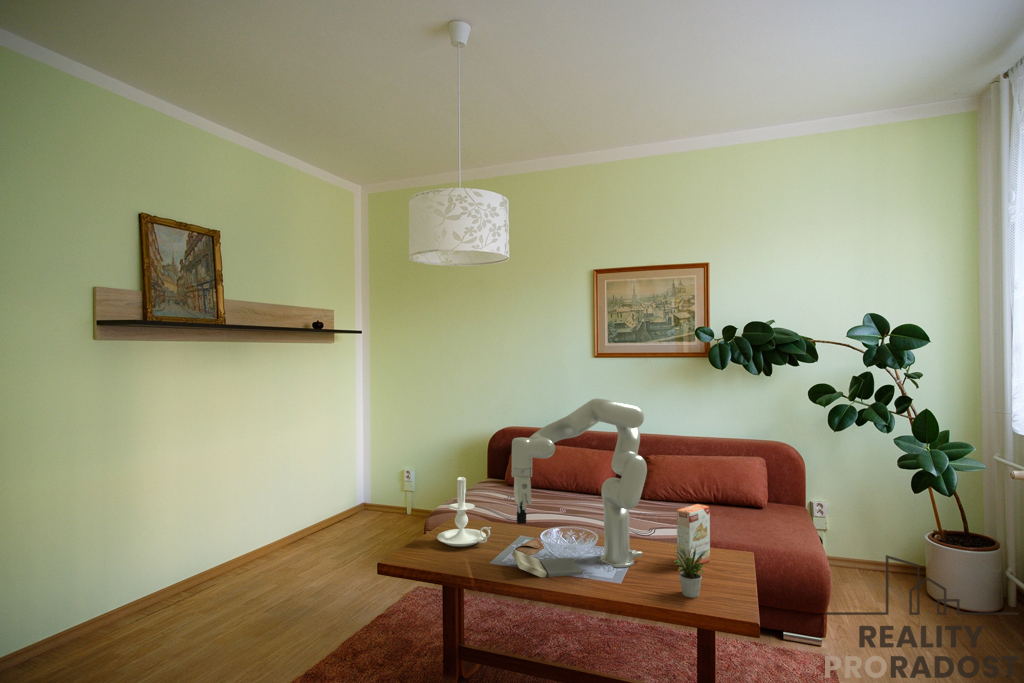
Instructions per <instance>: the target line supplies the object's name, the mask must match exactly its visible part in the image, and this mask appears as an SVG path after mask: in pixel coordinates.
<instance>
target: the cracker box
mask: <svg viewBox="0 0 1024 683" xmlns="http://www.w3.org/2000/svg"><path fill="white" fill-rule="evenodd" d="M710 509H711V508H710V506H708V505H704V504H700V503H696V504H693V505H689V506H686V507H682V508H679V509H677V510H676V549H677V551H678V552H679V554H680V555H682V557H683V558H684V560H685V557H684V555H683V553H682V551H681V549H680V547H679V546H681V545H682V546H683V548H684V550H685V553H686V555H687V557H689V555H690V556H691V554H692V556H691V558H693V552H694V549H695V548H696V555H695V559H694V563H695V561H696V560H697V558H698V557H699V556H700V555H701V554H702V553H703V552H704V551H706V550H708V551H707V552H706V553H705V554H704V555H703V556H702V557H701V558H700V560H699V561H698V563H706V564H707V563H708V562H710V561H711V531H710V530H711V529H710V528H711V523H710V522H711V521H710V520H711V518H710V517H711V514H710V513H711V510H710ZM692 544H693V545H692ZM691 546H692V548H691ZM690 549H691V553H690ZM677 551H676V552H677ZM678 552H677V553H678ZM677 553H676V560H678V561H680V560H681V562H682V563H683V565H684V566H685V564H684V562H683V560H682V558H681V557H680V555H679V554H677ZM677 556H678V557H679V559H680V560H679V559H678V558H677ZM685 562H686V561H685ZM698 563H697V564H698ZM693 565H694V564H693ZM676 566H677V567H678V566H679V567H681V566H680V565H678V564H677V563H676ZM685 567H686V566H685Z"/></svg>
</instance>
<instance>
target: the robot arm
mask: <svg viewBox="0 0 1024 683" xmlns="http://www.w3.org/2000/svg"><path fill="white" fill-rule="evenodd" d="M644 420H645V414H644V412H643V409H641V408H639V406H636V405H631V404H626V403H622V402H617V401H613V400H610V399H604V398H592V399H590V400H589V401H587V402H586V403H585V404H583V405H581V406H580V407H577V409H574V411H572V412H571V413H569V414H568V415H566V416H564V417H561V418H560V419H558V420H556V421H553V422H551V423H549V424H547V425H545V426H543V427H542V428H540V429H538V430H537V431H535V432H534V433H532V435H531V436H529V437H520V436H519V437H515V438H513V439H512V440H511V441H512V442H511V477H512V478H514V479H513V480H514V481H513V499H514V502H515V504H516V523H517V525H522V524H523V525H526V524H527V504H528V506H531V505H532V484H531V478H532V477H533V458H534V459H545V460H546V459H548V458H551V457H552V456H554V454H555V451H556V445H555V443H557V442H559V441H561V440H565V439H566V440H567V439H571V438H572V439H573V438H576V437H578V436H580V435H582V434H584V433H586V431H588V430H589V429H591V428H592V427H594V426H595V425H596V424H598V423H605V424H609V425H613V426H615V427H616V430H617V439H616V440H617V441H616V445H615V447H614V452H613V456H612V458H611V459H612V460H611V469H612V471H613V472H614V473H615V474H617V475H619V476H621V478H618V477H609V478H607V479H606V480H605V481H604V482H603V483H602V486H601V490H600V491H601V500H602V507H603V543H604V544H603V546H604V547H603V548H604V549H603V550H604V554H603V555H601V556H600V558H599V560H600V561H602V563H605V564H608V565H610V566H612V567H613V568H627V567H631V566H633V565H634V564H635V559H634V558H637V557H640V558H641V557H642V556H643V552H642V551H641V550H640V551H639V550H636V549H631V548H630V513H629V511H630V510H632V509H635V508H636V507H637V505H638V504H639V502H640V500H641V497H642V494H643V489H644V486H645V482H646V479H647V473H648V468H647V467H648V466H647V462H646V460H645V459H644V458H643V456H641V455H639V454H638V453H639V447H640V443H641V432H640V429H639V427H640V426H642V425H643V423H644Z"/></svg>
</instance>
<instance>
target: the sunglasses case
mask: <svg viewBox="0 0 1024 683" xmlns="http://www.w3.org/2000/svg"><path fill="white" fill-rule="evenodd" d="M541 541H542V540H540V539H539V538H537V537H536V536H535V537H534V538H533V539H530V540H528V541H527V542H524V543H523V544H521V545H520V546H517V547H516V548H514V550H517V551H519V552H522V553H524V554H527V555H529V556H531V557H532V556H535V555H536V554H537V553H539V552H540V551H542V550H544V546H543V544H542V543H541ZM514 550H513V552H514ZM513 552H512V553H513Z"/></svg>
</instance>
